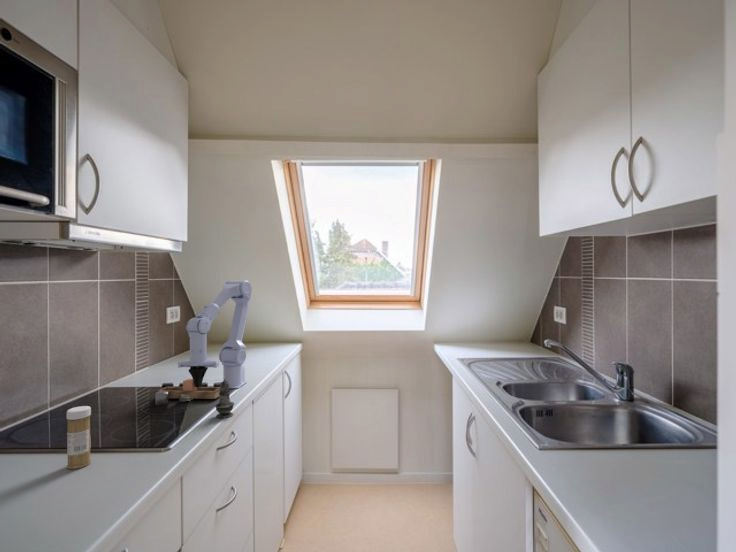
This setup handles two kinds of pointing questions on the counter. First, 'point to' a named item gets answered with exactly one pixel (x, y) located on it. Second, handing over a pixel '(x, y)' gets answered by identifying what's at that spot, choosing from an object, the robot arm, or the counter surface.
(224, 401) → the dark grey turned ornament
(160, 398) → the weight
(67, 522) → the counter surface
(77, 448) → the sprinkles bottle
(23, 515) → the counter surface
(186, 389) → the orange block
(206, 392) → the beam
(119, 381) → the counter surface
